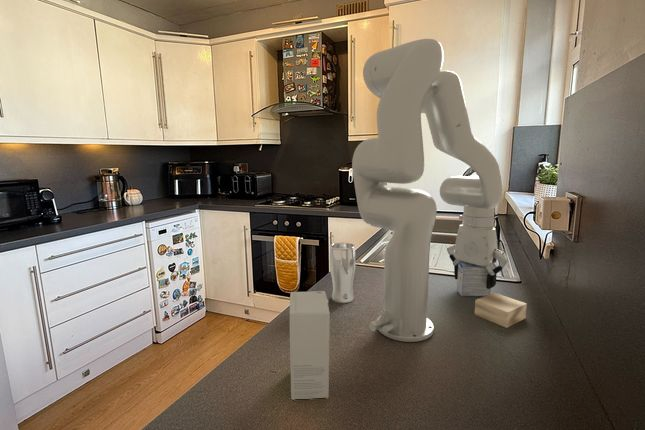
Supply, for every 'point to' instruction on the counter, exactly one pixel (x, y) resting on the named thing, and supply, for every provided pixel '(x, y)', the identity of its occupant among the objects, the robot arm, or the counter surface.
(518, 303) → the oak block
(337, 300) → the beer glass
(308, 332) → the skincare box
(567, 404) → the counter surface
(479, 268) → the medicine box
